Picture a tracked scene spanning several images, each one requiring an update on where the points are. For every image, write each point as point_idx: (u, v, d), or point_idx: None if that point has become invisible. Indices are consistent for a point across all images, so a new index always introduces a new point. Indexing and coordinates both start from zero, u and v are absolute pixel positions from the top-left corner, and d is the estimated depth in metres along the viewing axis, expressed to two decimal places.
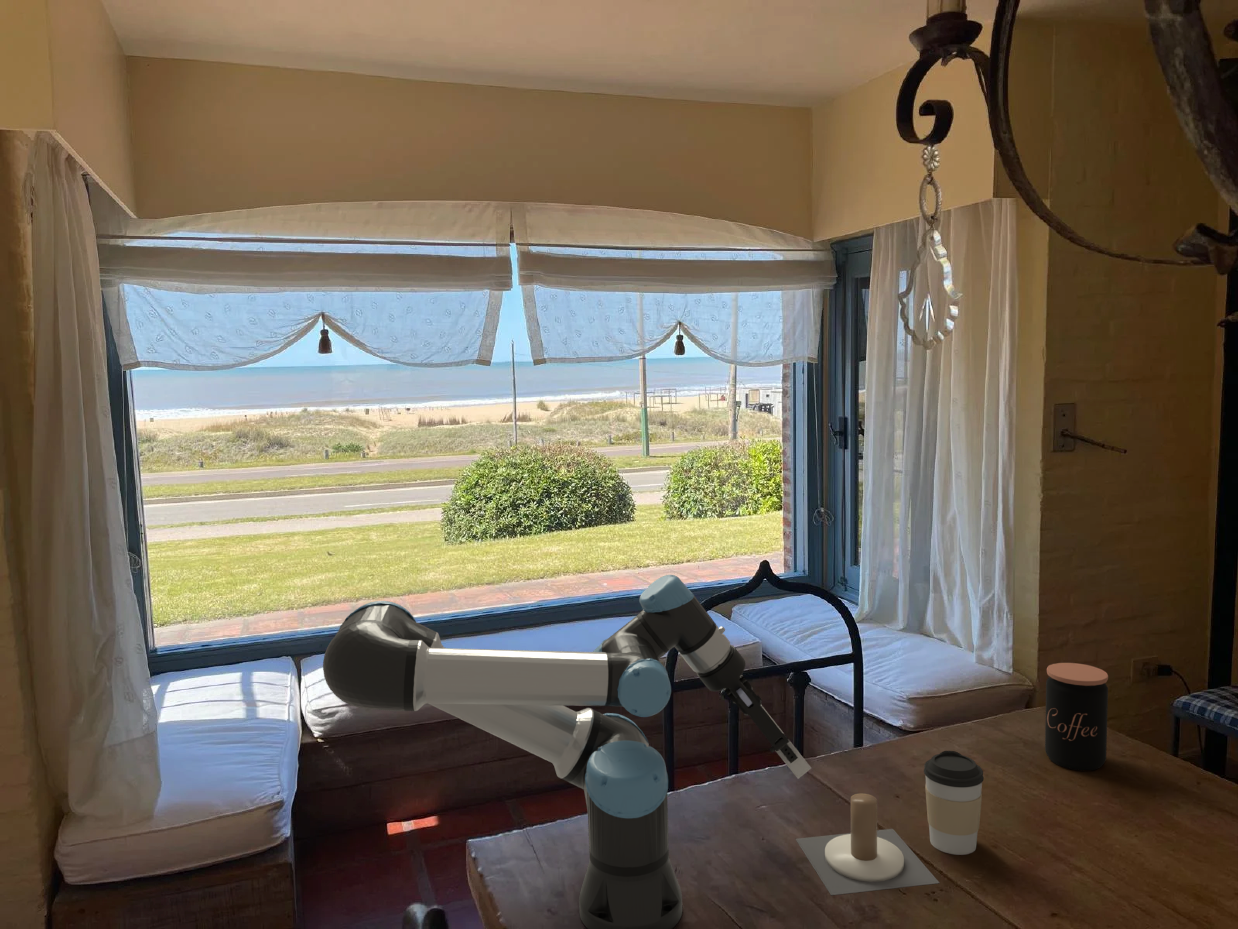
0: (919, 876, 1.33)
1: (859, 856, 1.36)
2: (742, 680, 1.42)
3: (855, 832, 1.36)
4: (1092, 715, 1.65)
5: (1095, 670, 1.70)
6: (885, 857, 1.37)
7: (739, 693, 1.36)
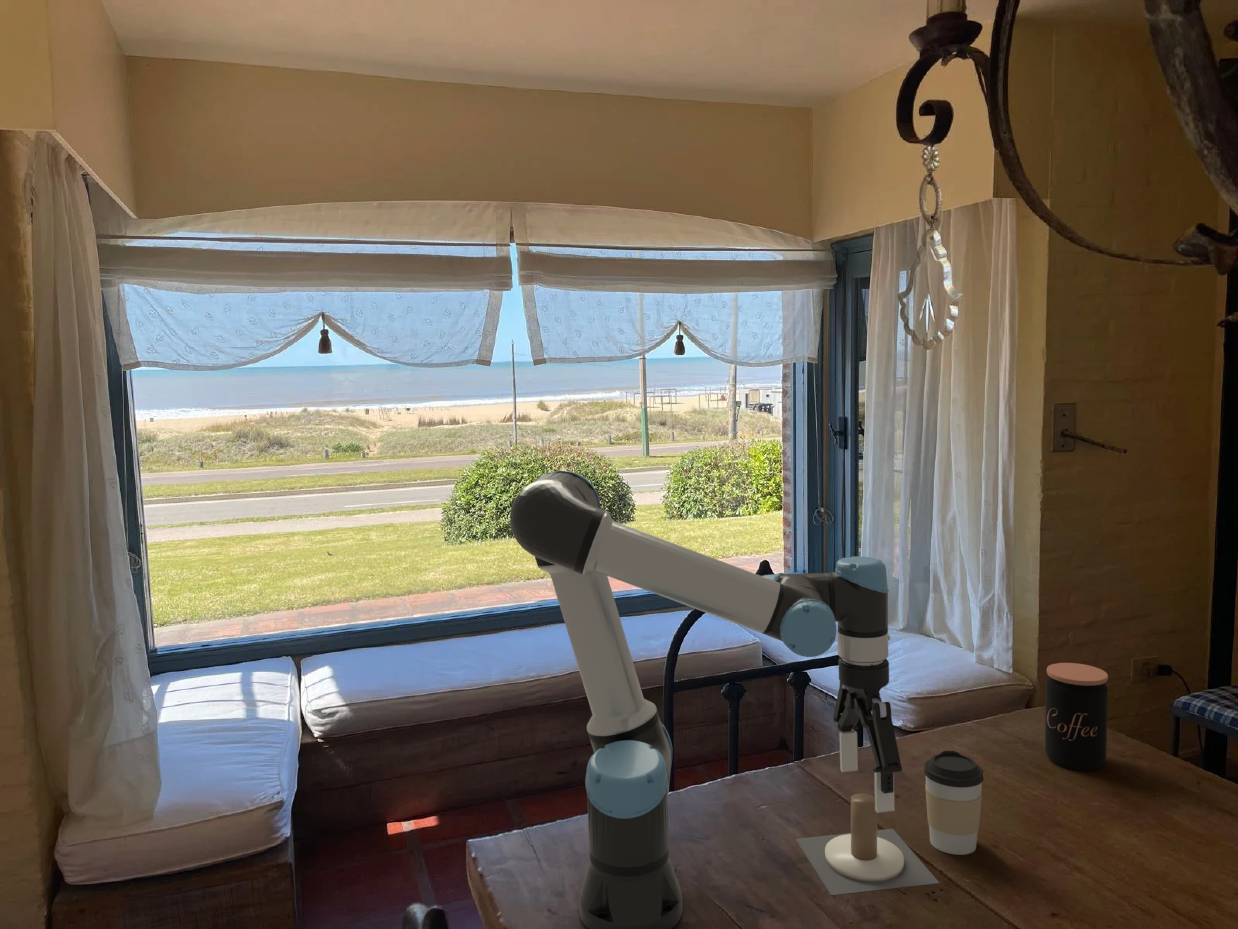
0: (919, 876, 1.33)
1: (859, 856, 1.36)
2: None
3: (855, 832, 1.36)
4: (1092, 715, 1.65)
5: (1095, 670, 1.70)
6: (885, 857, 1.37)
7: (876, 701, 1.30)
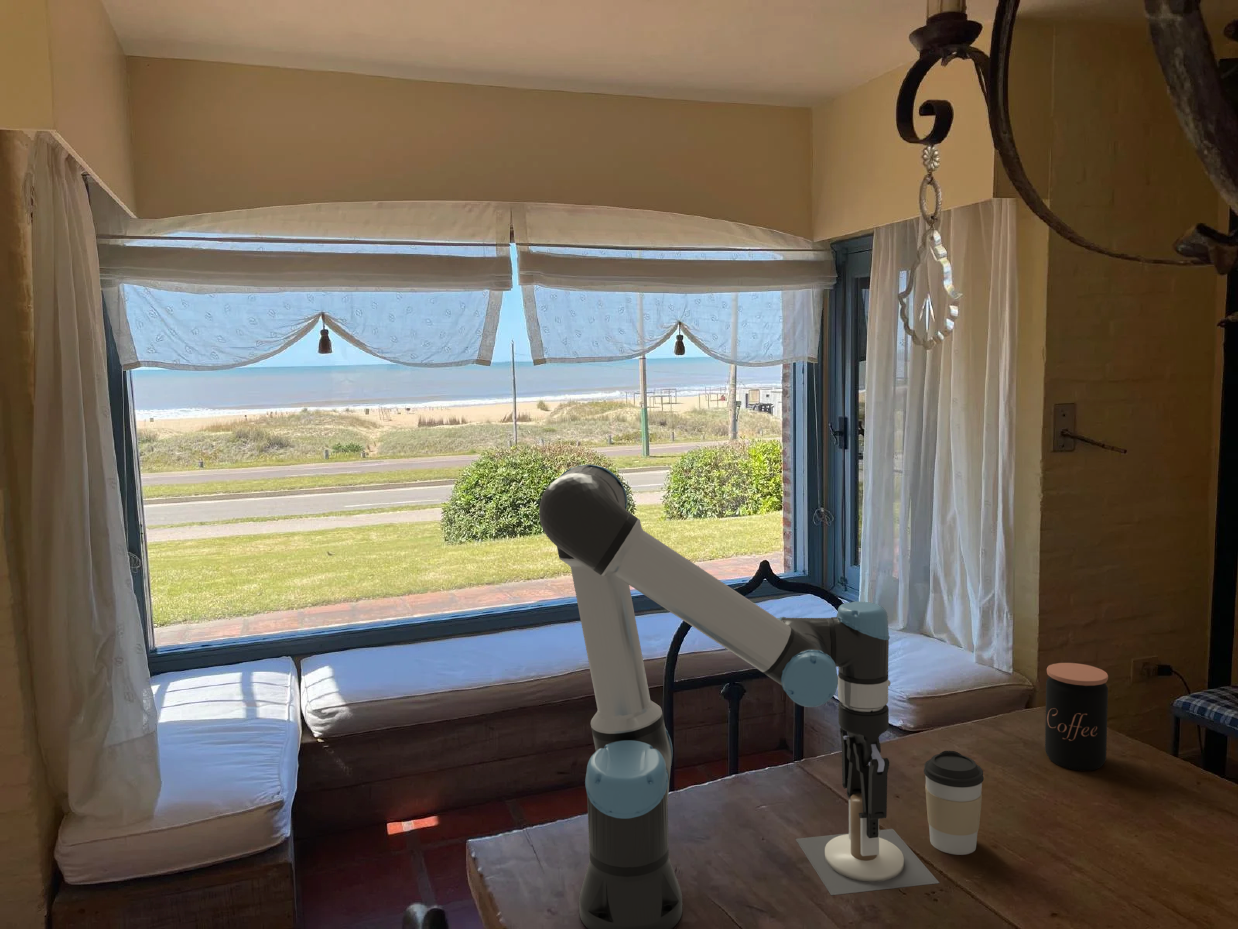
0: (919, 876, 1.33)
1: (859, 856, 1.36)
2: None
3: (854, 832, 1.36)
4: (1092, 715, 1.65)
5: (1095, 670, 1.70)
6: (885, 857, 1.37)
7: (875, 754, 1.31)
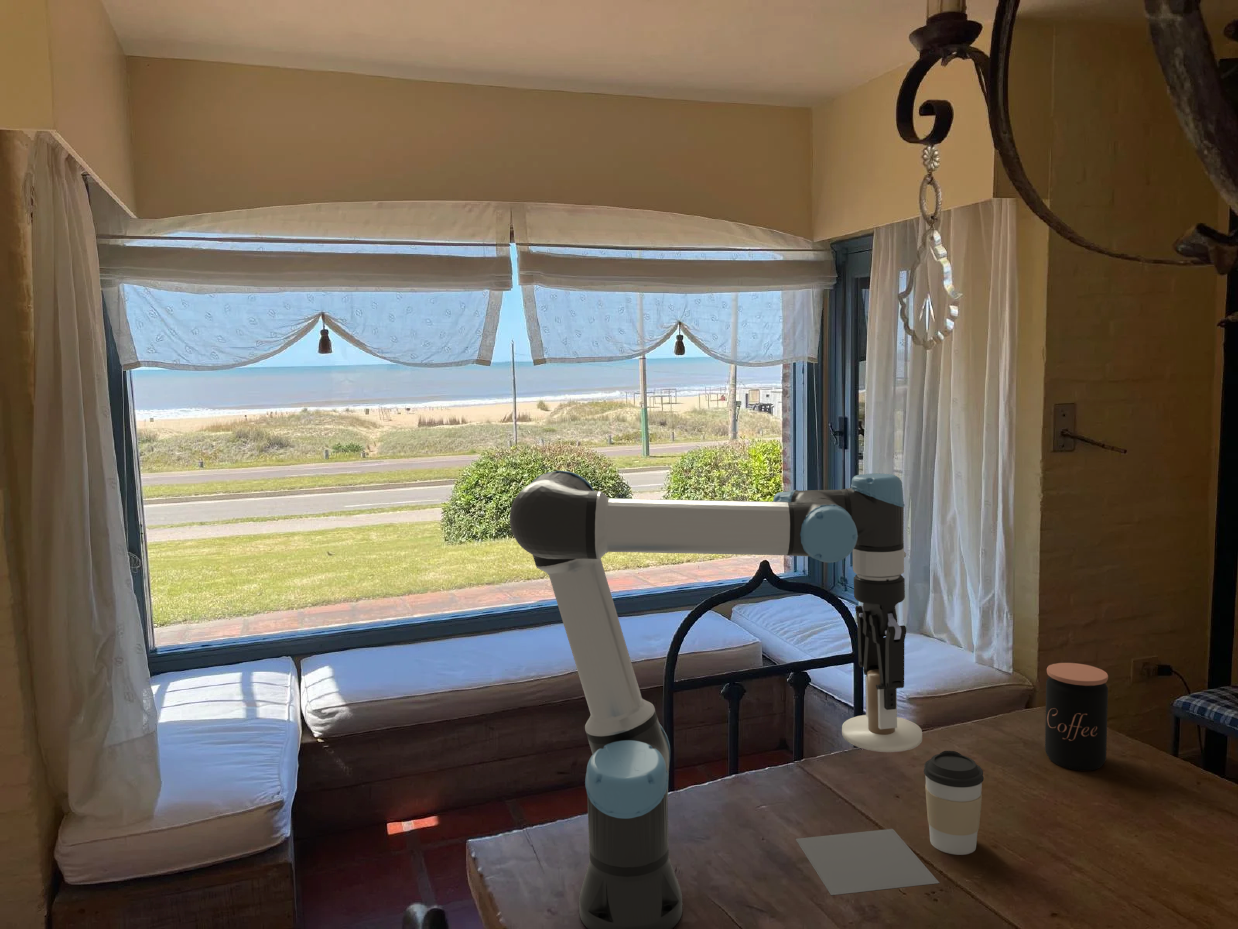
0: (919, 876, 1.33)
1: (877, 730, 1.35)
2: None
3: (872, 706, 1.35)
4: (1092, 715, 1.65)
5: (1095, 670, 1.70)
6: (903, 731, 1.35)
7: (892, 622, 1.30)
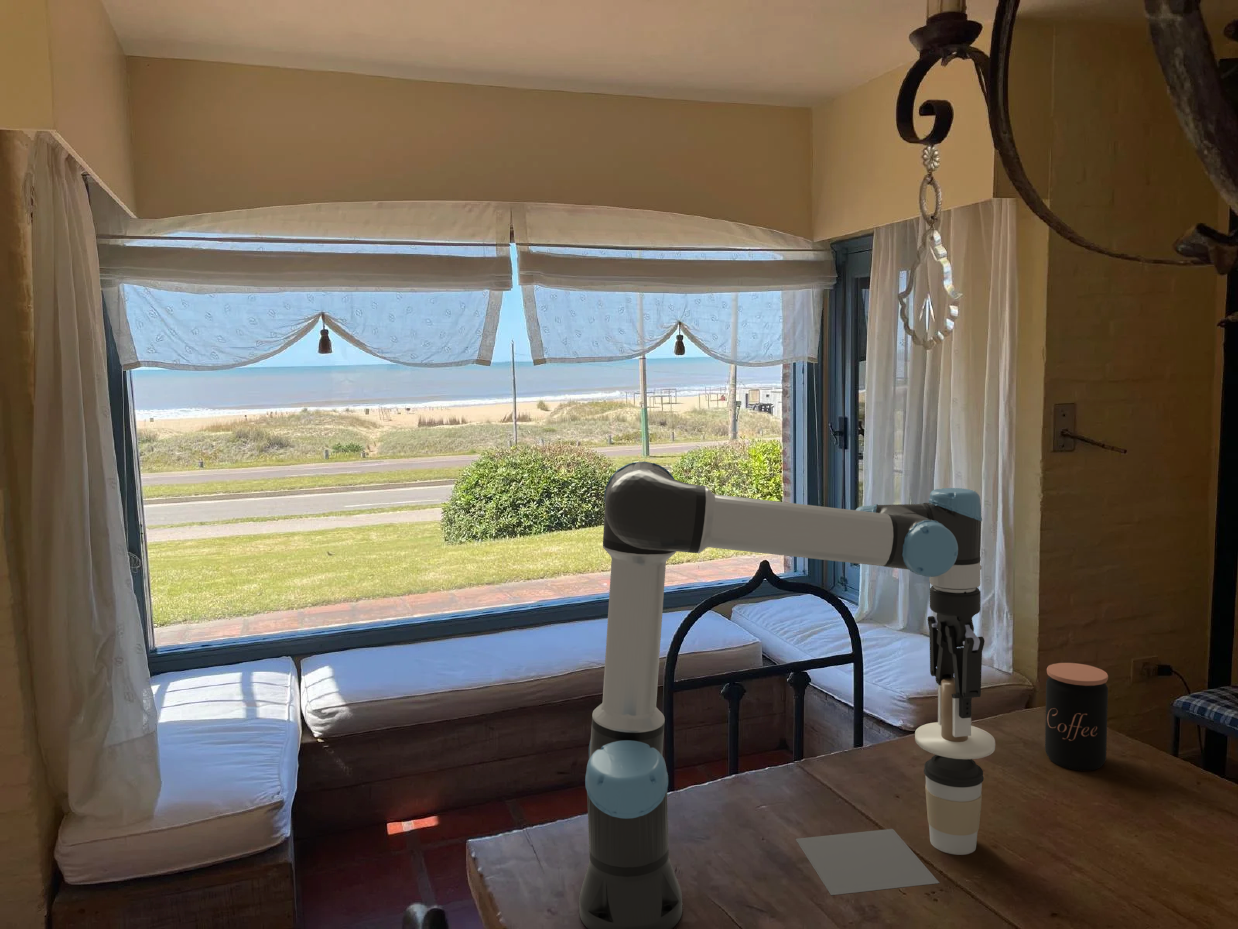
0: (919, 876, 1.33)
1: (951, 738, 1.39)
2: None
3: (946, 714, 1.39)
4: (1092, 715, 1.65)
5: (1095, 670, 1.70)
6: (976, 739, 1.39)
7: (970, 633, 1.33)
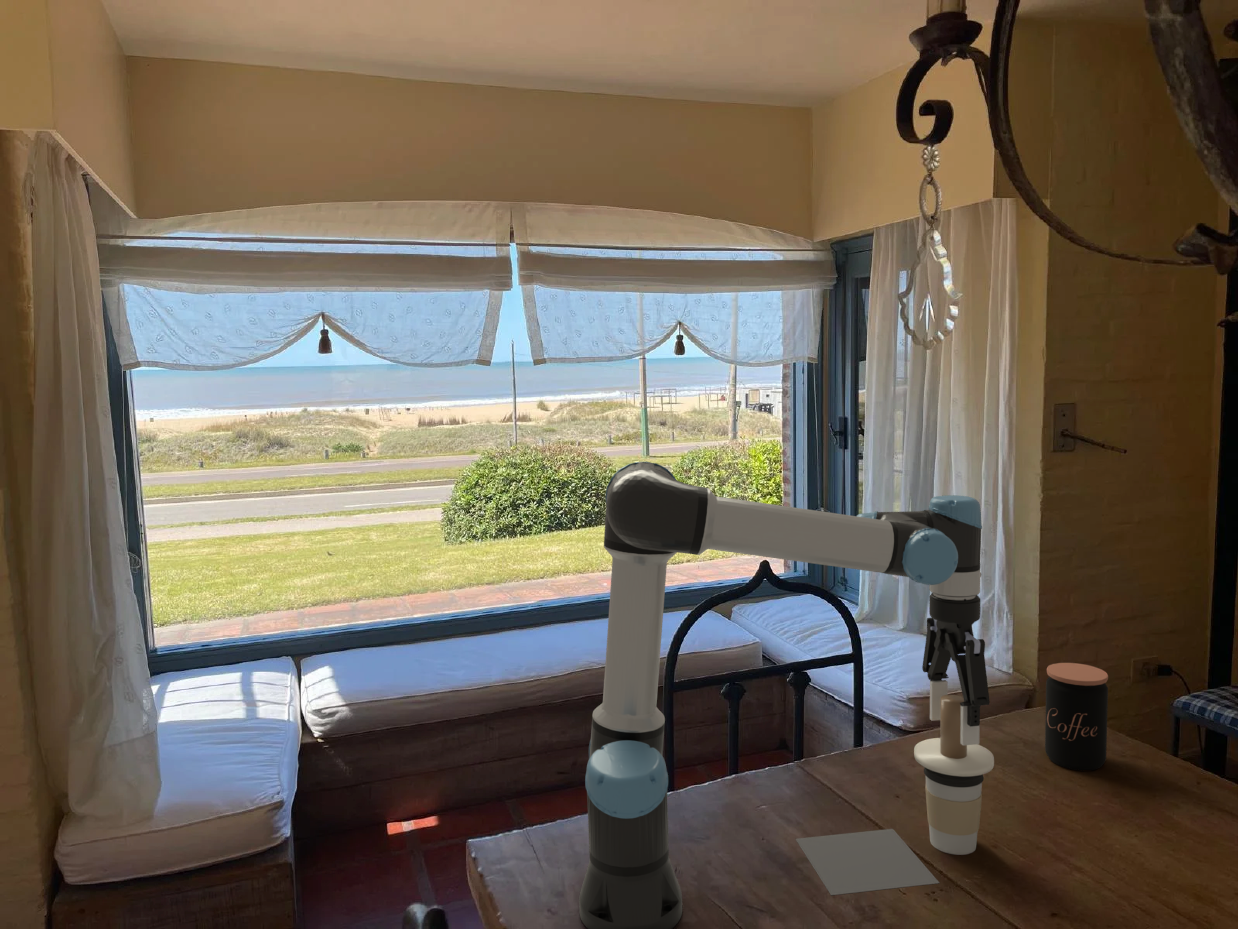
0: (919, 876, 1.33)
1: (950, 754, 1.39)
2: None
3: (945, 731, 1.39)
4: (1092, 715, 1.65)
5: (1095, 670, 1.70)
6: (975, 756, 1.39)
7: (970, 637, 1.33)
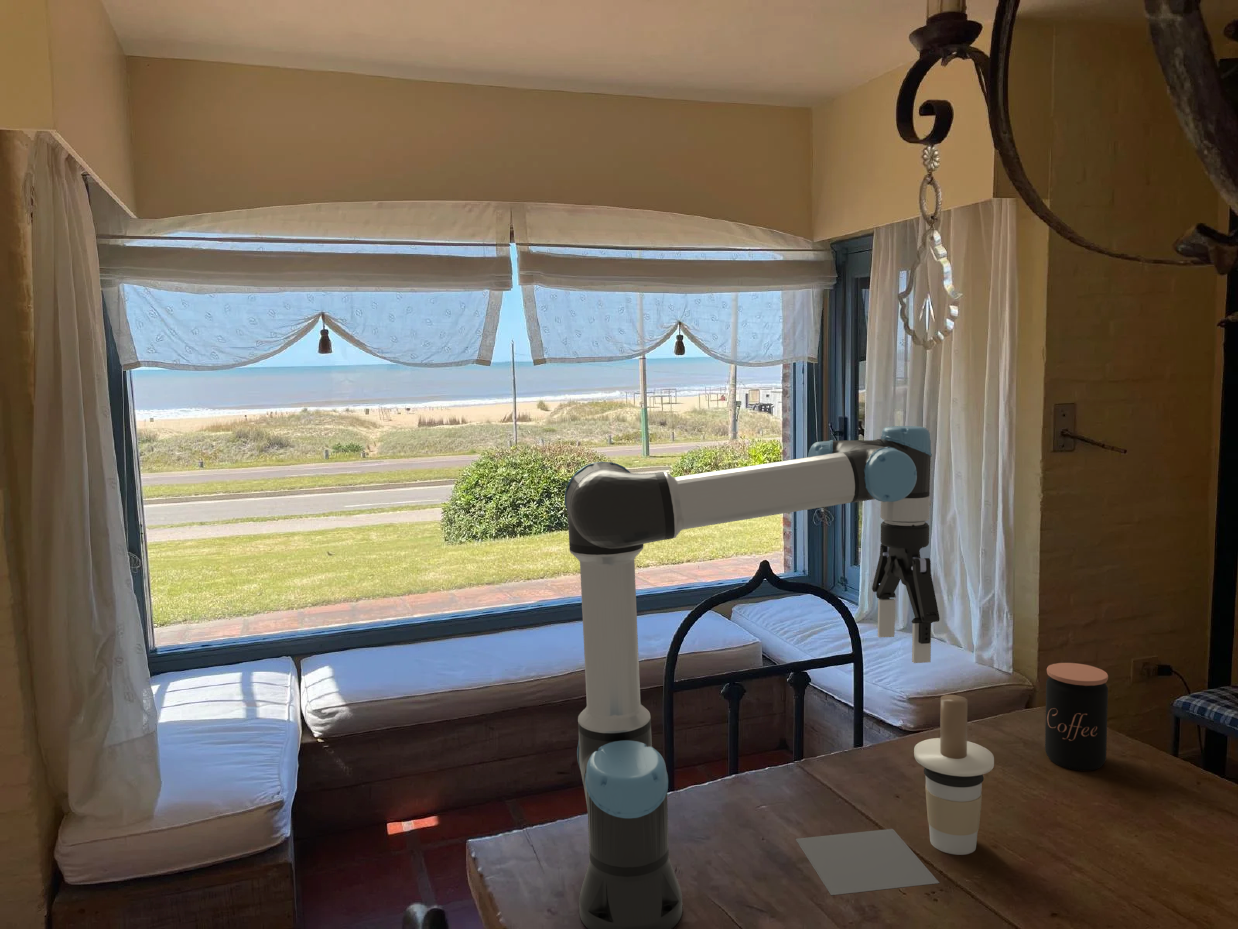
0: (919, 876, 1.33)
1: (950, 754, 1.39)
2: None
3: (945, 731, 1.39)
4: (1092, 715, 1.65)
5: (1095, 670, 1.70)
6: (975, 756, 1.39)
7: (916, 558, 1.37)
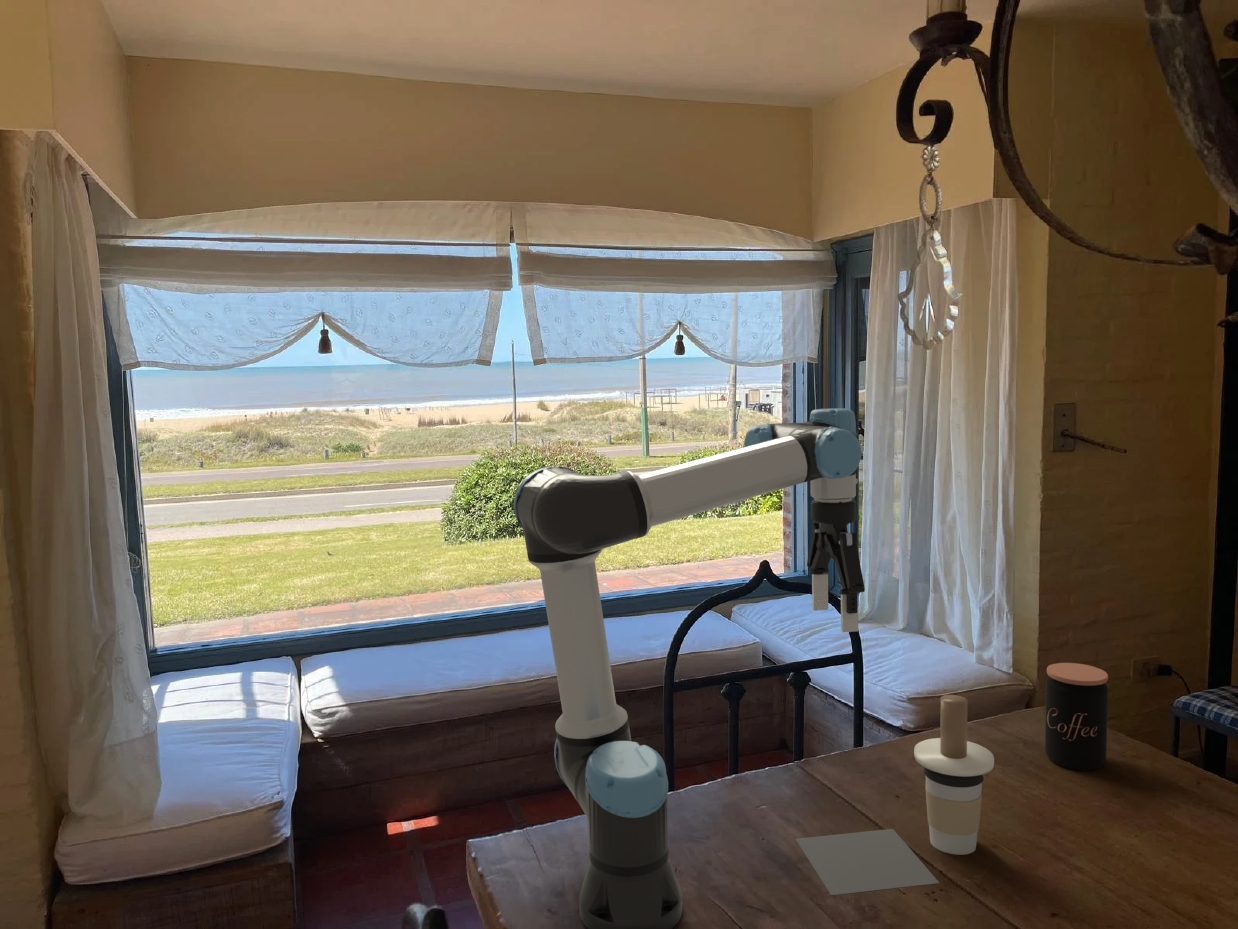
0: (919, 876, 1.33)
1: (950, 754, 1.39)
2: None
3: (945, 731, 1.39)
4: (1092, 715, 1.65)
5: (1095, 670, 1.70)
6: (975, 756, 1.39)
7: None
